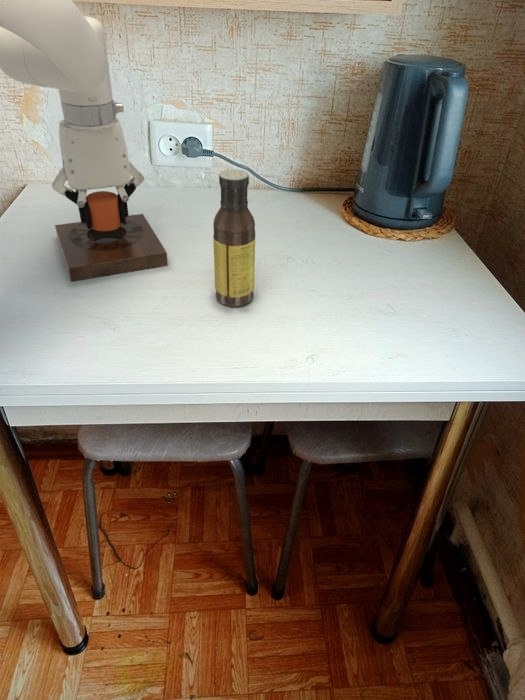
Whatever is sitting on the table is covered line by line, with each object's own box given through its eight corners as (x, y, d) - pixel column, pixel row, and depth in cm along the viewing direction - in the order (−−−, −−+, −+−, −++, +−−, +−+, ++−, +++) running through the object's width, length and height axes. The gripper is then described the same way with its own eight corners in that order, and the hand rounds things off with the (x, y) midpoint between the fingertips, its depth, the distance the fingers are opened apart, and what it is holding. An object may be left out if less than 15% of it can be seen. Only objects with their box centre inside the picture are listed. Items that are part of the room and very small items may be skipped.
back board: (71, 281, 82) (68, 268, 80) (57, 236, 93) (54, 223, 92) (167, 265, 88) (166, 252, 86) (143, 224, 99) (142, 212, 97)
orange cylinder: (93, 233, 86) (88, 205, 83) (87, 220, 90) (83, 193, 87) (124, 228, 88) (120, 201, 85) (117, 216, 92) (113, 189, 89)
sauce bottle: (259, 292, 83) (266, 170, 70) (245, 312, 78) (251, 186, 66) (222, 283, 84) (223, 162, 72) (207, 302, 80) (205, 177, 67)
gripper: (138, 103, 83) (148, 208, 95) (26, 109, 77) (51, 220, 89) (150, 116, 78) (159, 225, 90) (31, 124, 72) (57, 240, 83)
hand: (105, 222), depth 89 cm, fingers closed on orange cylinder, 5 cm apart
